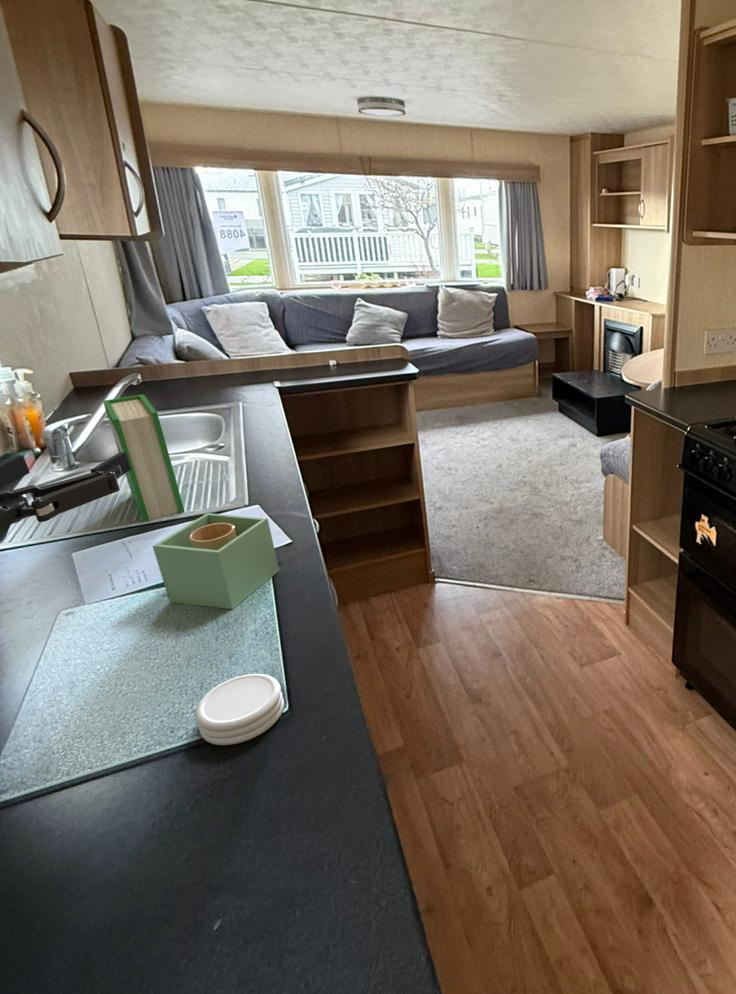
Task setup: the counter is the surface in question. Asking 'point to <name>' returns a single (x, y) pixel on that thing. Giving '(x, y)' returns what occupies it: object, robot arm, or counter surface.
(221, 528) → the tan hollow cylinder
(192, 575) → the bin
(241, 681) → the coaster
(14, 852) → the counter surface
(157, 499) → the hardback book
